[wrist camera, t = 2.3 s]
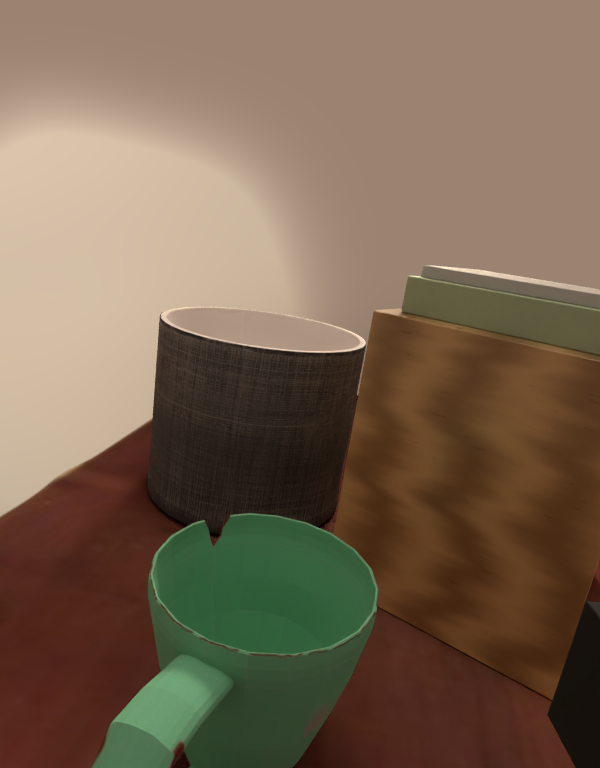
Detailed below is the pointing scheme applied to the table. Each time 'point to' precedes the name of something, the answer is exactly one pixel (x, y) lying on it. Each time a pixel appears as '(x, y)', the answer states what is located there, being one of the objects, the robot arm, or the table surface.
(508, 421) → the riser
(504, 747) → the table surface
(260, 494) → the planter
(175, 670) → the mug
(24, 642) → the table surface
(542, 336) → the scale
